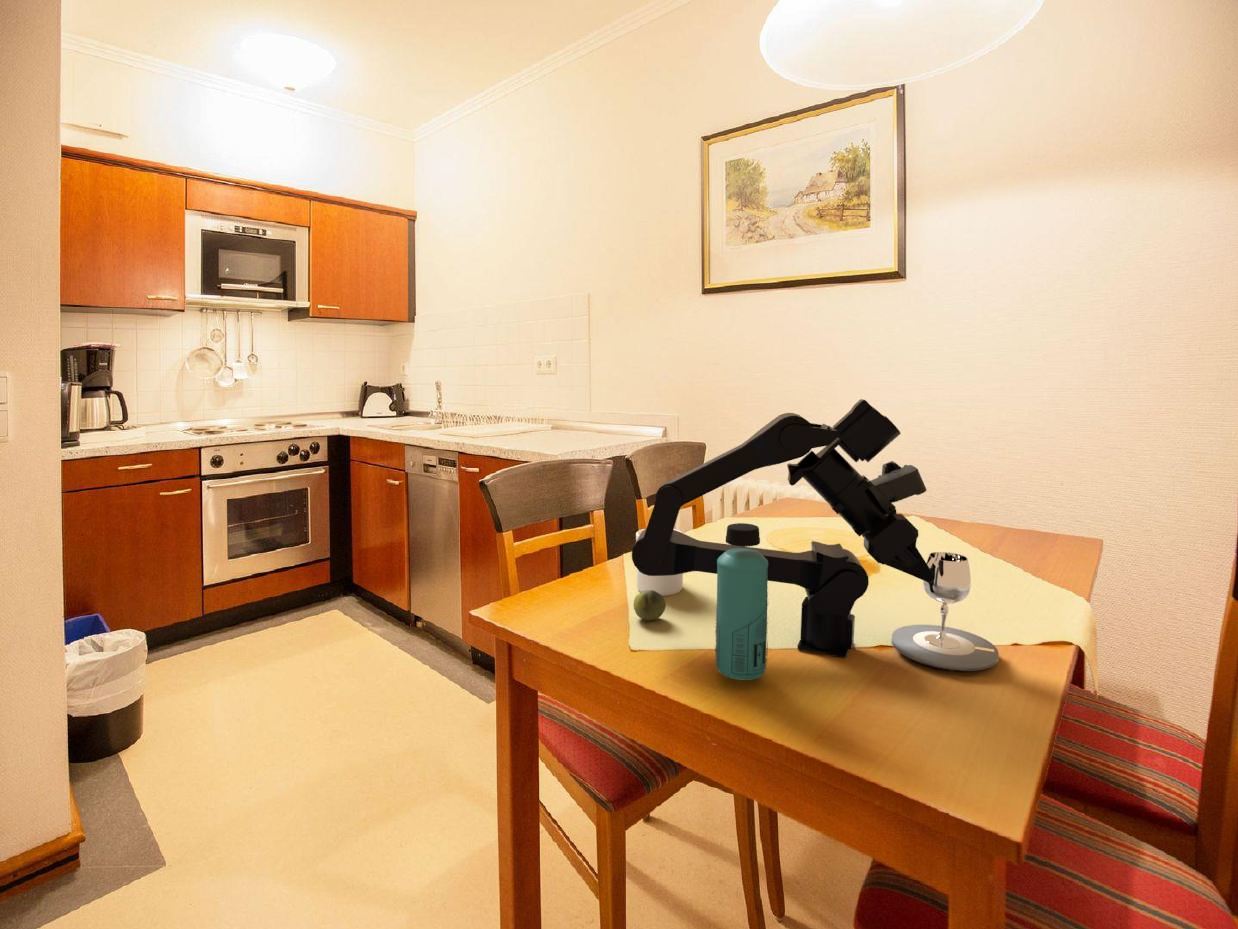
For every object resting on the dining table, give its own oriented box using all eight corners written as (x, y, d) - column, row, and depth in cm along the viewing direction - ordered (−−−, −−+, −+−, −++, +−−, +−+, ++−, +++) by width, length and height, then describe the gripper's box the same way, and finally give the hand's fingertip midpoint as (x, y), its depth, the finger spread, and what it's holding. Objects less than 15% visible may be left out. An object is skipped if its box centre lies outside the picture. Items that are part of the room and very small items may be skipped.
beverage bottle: (756, 697, 78) (760, 534, 75) (705, 683, 81) (707, 527, 78) (774, 675, 83) (779, 523, 80) (725, 663, 86) (728, 516, 84)
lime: (629, 618, 102) (629, 588, 101) (655, 613, 104) (655, 583, 104) (644, 628, 98) (644, 596, 98) (670, 622, 101) (671, 591, 100)
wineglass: (960, 654, 85) (967, 565, 83) (913, 642, 88) (919, 557, 87) (970, 640, 89) (977, 555, 87) (925, 629, 93) (931, 548, 91)
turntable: (888, 658, 86) (888, 652, 86) (894, 624, 97) (895, 618, 97) (1002, 678, 80) (1002, 672, 80) (994, 639, 92) (994, 633, 92)
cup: (634, 596, 112) (634, 538, 111) (639, 574, 124) (639, 522, 123) (682, 597, 111) (683, 540, 110) (682, 575, 123) (683, 523, 122)
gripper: (904, 454, 77) (998, 549, 77) (875, 437, 95) (951, 514, 95) (831, 516, 80) (922, 608, 79) (817, 488, 98) (890, 563, 97)
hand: (922, 569), depth 88 cm, fingers open, 9 cm apart
